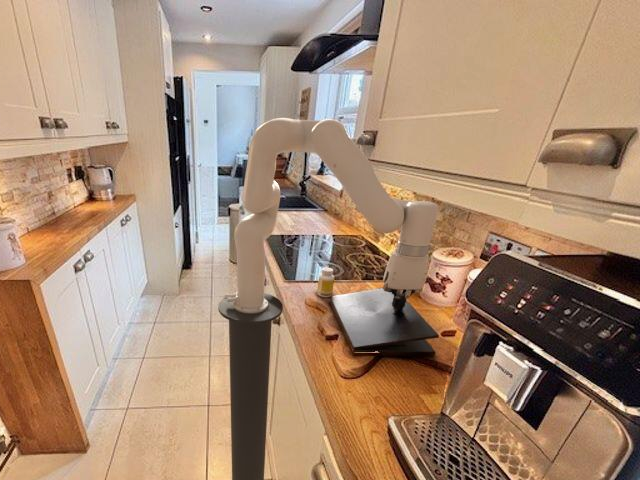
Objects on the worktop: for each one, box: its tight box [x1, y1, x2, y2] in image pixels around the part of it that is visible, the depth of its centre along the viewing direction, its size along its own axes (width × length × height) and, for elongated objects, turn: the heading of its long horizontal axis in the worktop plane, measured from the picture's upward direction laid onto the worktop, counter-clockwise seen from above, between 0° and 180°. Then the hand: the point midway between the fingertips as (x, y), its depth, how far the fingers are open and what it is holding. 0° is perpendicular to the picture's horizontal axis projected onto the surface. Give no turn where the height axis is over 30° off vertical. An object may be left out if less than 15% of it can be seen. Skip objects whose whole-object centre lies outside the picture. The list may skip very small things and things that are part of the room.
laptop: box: [329, 299, 437, 358], centre depth 98 cm, size 21×30×2 cm
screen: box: [329, 287, 440, 350], centre depth 97 cm, size 21×30×1 cm
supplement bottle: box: [316, 267, 335, 298], centre depth 117 cm, size 5×5×10 cm
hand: (397, 308), depth 96 cm, fingers closed
